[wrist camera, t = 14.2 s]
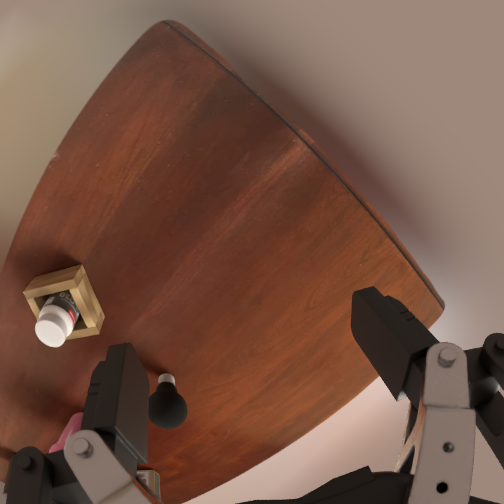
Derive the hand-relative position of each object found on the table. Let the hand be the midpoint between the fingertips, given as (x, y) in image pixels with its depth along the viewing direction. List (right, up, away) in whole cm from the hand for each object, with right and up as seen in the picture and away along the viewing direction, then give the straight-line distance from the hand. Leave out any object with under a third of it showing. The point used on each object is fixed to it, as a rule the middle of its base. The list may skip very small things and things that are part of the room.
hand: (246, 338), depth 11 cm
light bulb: (-13, -16, +35) cm, 40 cm away
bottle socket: (-25, -3, +26) cm, 36 cm away
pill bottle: (-24, -3, +26) cm, 36 cm away
